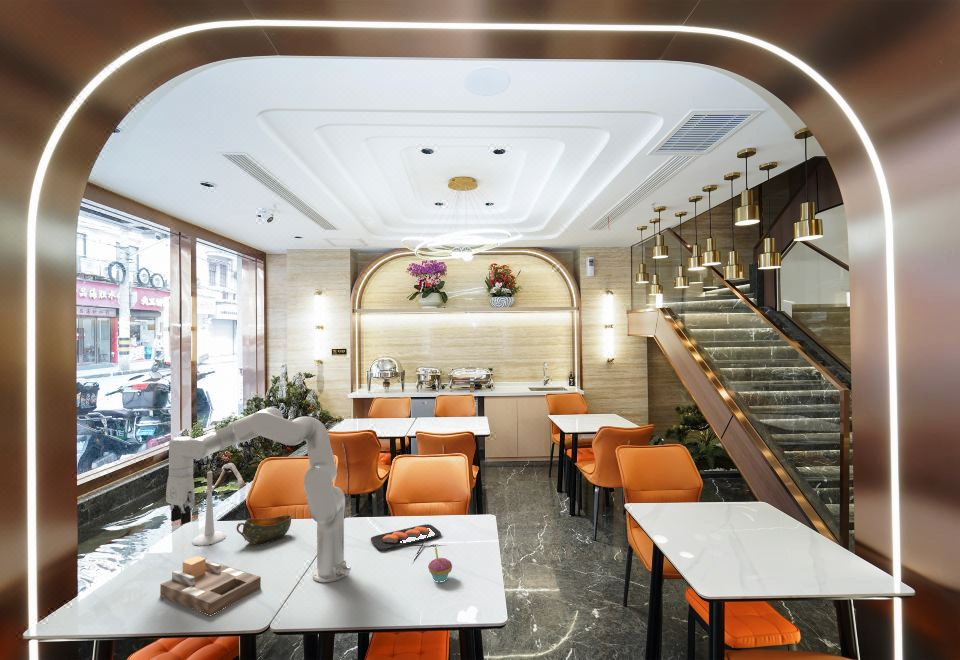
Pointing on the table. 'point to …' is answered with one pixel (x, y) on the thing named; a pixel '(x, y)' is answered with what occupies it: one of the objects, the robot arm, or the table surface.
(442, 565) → the cupcake
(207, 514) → the candlestick
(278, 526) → the green gravy boat
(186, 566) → the block
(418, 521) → the table surface
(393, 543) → the sushi plate
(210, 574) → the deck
